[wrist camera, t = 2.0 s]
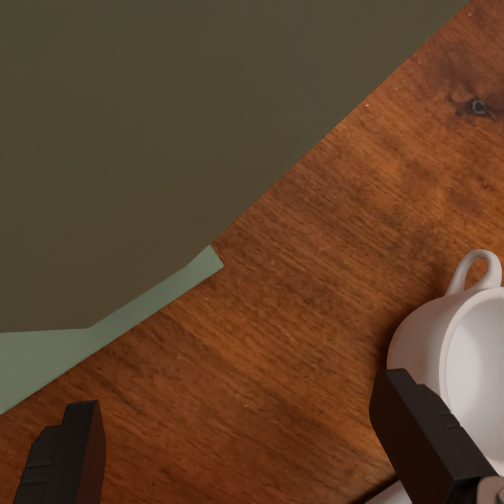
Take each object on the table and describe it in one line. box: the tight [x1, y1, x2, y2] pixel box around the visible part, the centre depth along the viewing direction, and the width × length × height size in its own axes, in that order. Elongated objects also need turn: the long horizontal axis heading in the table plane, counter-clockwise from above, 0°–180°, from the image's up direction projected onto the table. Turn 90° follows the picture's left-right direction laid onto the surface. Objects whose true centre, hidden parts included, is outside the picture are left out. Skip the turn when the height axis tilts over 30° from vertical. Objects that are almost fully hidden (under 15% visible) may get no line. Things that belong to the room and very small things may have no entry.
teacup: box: [387, 249, 504, 476], centre depth 21 cm, size 10×8×5 cm
